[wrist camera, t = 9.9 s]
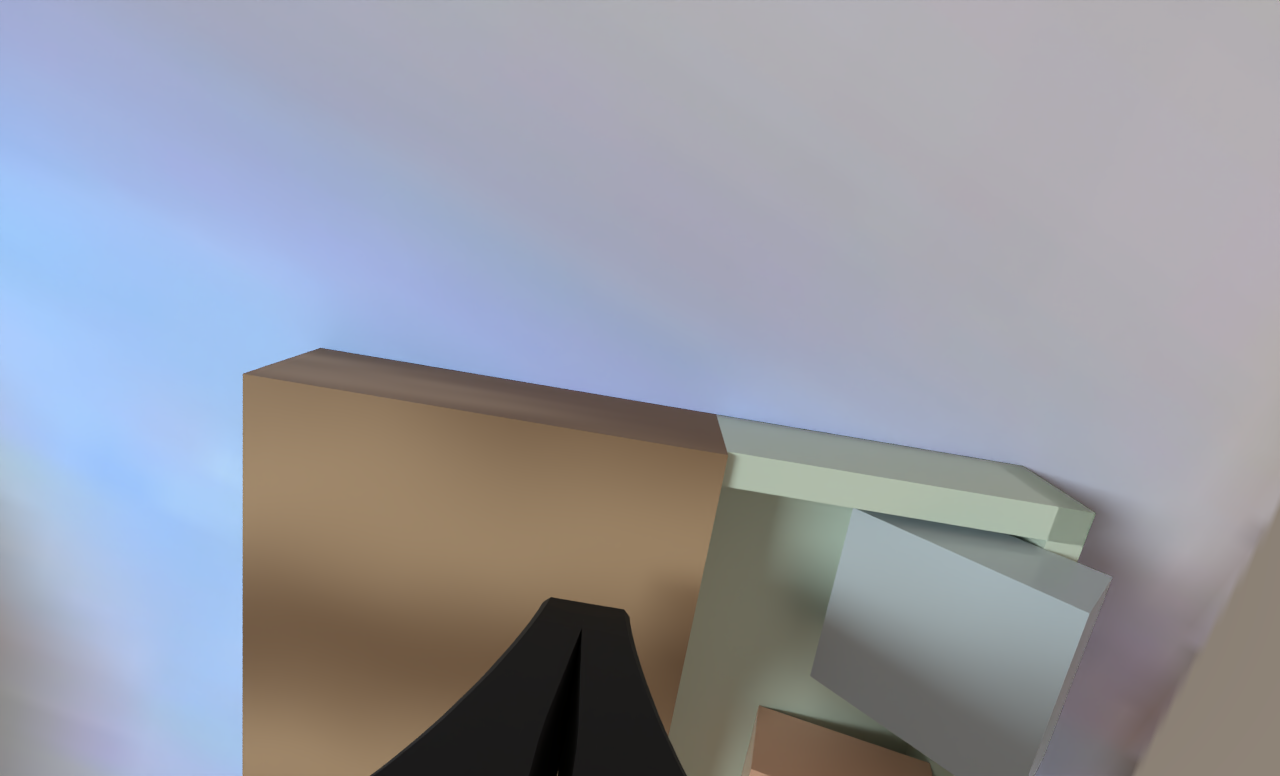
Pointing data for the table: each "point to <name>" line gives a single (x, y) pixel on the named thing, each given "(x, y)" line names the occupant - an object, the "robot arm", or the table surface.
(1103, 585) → the slate tile
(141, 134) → the table surface
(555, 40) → the table surface
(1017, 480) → the tray
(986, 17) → the table surface
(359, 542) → the walnut board
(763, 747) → the terracotta tile
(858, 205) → the table surface
